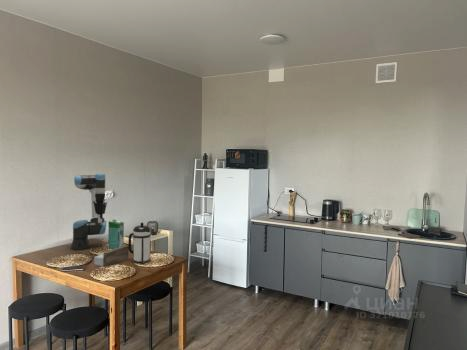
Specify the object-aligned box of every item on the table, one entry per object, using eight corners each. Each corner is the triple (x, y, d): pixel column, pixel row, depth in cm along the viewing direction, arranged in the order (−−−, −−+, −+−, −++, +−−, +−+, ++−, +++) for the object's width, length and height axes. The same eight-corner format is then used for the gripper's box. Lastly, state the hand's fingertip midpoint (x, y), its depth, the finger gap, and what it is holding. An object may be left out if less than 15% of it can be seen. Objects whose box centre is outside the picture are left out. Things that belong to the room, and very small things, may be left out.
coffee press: (151, 257, 276) (151, 220, 274) (152, 264, 261) (152, 224, 259) (128, 258, 272) (128, 220, 270) (127, 265, 256) (128, 224, 255)
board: (103, 266, 254) (103, 252, 253) (124, 258, 274) (124, 245, 273) (107, 266, 252) (107, 253, 251) (128, 258, 272) (128, 246, 271)
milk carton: (118, 251, 291) (118, 221, 289) (108, 250, 293) (108, 221, 291) (123, 248, 300) (123, 219, 298) (114, 247, 302) (114, 219, 300)
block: (94, 264, 256) (94, 256, 256) (104, 261, 265) (104, 253, 265) (102, 266, 253) (102, 258, 253) (112, 262, 262) (112, 254, 262)
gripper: (90, 192, 276) (90, 222, 277) (102, 194, 271) (102, 224, 272) (97, 192, 283) (97, 220, 284) (109, 193, 278) (109, 222, 279)
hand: (100, 222), depth 278 cm, fingers closed
